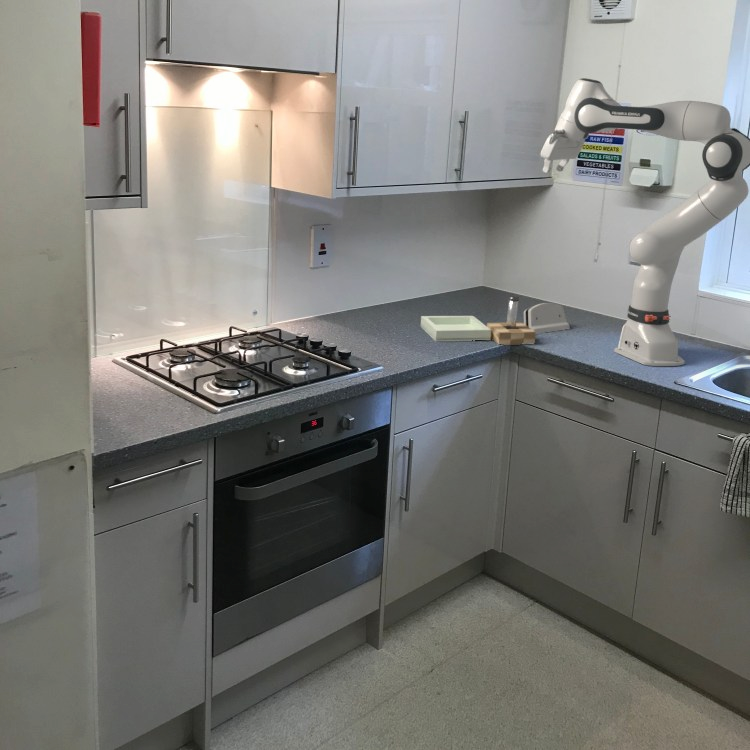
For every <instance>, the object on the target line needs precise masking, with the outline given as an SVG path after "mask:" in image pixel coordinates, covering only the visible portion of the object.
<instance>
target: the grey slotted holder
mask: <svg viewBox="0 0 750 750" xmlns="http://www.w3.org/2000/svg"><path fill="white" fill-rule="evenodd" d="M523 324H525V325H526V326H528V327H529V328H530V329H532V330H533V331H535V332H536V333H541V332H548V331H556V332H558V331H557V330H563V331H566V330H565V329H571V327H570V324H569V322H568V321H567V319H566V313H565V310H564V306H563V305H562V304H557V303H554V302H553V303H551V302H542V303H537V304H534V305H532V306H529V307H528V308H526V309H525V310H524V311H523Z"/></svg>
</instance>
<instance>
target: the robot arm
mask: <svg viewBox="0 0 750 750" xmlns="http://www.w3.org/2000/svg"><path fill="white" fill-rule="evenodd" d="M565 101H566V102H565V106H564V109H563V111H562V112H561V114H560V116H559V118H558V120H557V123H556V125H555V128H554V132H553V133H551V134H549V135H548V137H547V138H546V140H545V142H544V144H543V147H542V149H541V151H540V157H541V158H542V159H544V161H543V163H544V164H543V168H542V172H543V173H546V174H548V173H549V172H550V171H551V168H552V167H551V164H552V163H553V161H558V160H559V161H560V162H559V164H557V166H556V169H555V170H556V171H558V172H563V171H564V170H565V167H566V165H568V163H569V161H570V160H574V159H577V157H578V156H579V154H580V152H581V151H582V148H583V147H584V144H585V142H586V139H588V137H589V136H590V134H593V133H611V132H613V131H616V130H617V129H622V130H637V131H641V132H646V133H650V134H653V135H657V136H659V137H660V136H661V137H663V138H668V139H672V140H678V141H684V142H686V141H687V142H699V143H702V144H704V145H705V146H704V147H703V149H702V154H701V156H702V157H701V158H702V163H703V164H704V167H705V169H706V172H707V175H708V177H709V179H710V180H709V181H708V182H707V183H706V184H705V185H703V186H702V187H701V188H699V189H698V190H697V191H696V192H694V193H693V194H692V195H690V196H689V197H688V198H687V199H685V200H684V201H683V202H681V203H680V204H679V205H678V206H676V207H675V208H673V209H672V210H670V211H669V212H668V213H666V214H665V215H663V216H662V217H659V219H657V220H656V221H654V222H653V223H651V224H650V225H649V226H647V227H645V228H644V229H642V230H641V231H640V232H639V233H638V234H636V235H635V236H634V237H633V238H632V240H631V241H630V244H629V255H630V256H631V257H630V258H631V259H632V260H633V262H635V263H637V264H638V265H640V267H639V268H638V269H639V270H638V272H637V273H636V276H635V278H634V281H633V284H632V285H633V286H632V290H631V291H632V292H631V300H630V304H629V305H628V308H627V321H626V322H625V323H624V324H623V326H622V329H621V332H620V336H619V342H618V345H617V347H615V348H614V349H613V350H614V353H616V354H619V355H621V356H623V357H625V358H627V359H630V360H632V361H634V362H636V363H640V364H642V365H645V366H651V367H653V366H654V367H676V366H683V365H685V364H686V363H685V362H686V361H685V360H684V359H683V358H682V357H681V356H680V355H678V354H679V344H680V339H679V338H677V337H676V336H675V334H674V332H673V330H672V328H671V326H670V324H669V323H670V320H671V315H670V314H669V311H670V310H669V309H668V308H669V303H670V295H671V289H672V283H673V280H674V277H675V275H676V271H677V268H678V264H679V262H680V259H681V255H682V252H683V251H684V249H685V247H686V246H688V245H689V244H691V243H693V242H694V241H696V240H697V239H699V238H700V237H702V236H703V235H705V234H706V233H707V232H709V231H710V230H711V229H712V228H714V227H715V226H717V225H719V224H720V222H722V221H723V220H725V219H726V218H728V216H730V215H731V214H732V213H733V212H735V210H736V209H737V208H738V207H740V205H741V204H742V203H743V202H744V201H745V200H746V199H747V197H748V195H749V191H750V190H749V186H748V183H747V181H746V179H745V178H743V171H744V170H746V169H748V168H749V167H750V137H748V136H747V135H745V134H744V133H742V131H740V130H738V128H735V127H732V128H731V122H732V121H731V120H732V119H731V114H730V111H729V109H728V108H727V107H725V106H723V105H720V104H717V103H712V102H706V101H699V100H676V101H670V102H663V103H657V104H654V105H646V106H629V105H627V106H626V105H623V106H622V105H621V104H620V103H619V102H618V101H616V100H615V99H614V98H613V97H611V95H610V94H609V93H608V92H607V91H606V89H605V88H604V84H603V83H602V82H601V81H599V80H596V79H591V78H579V79H578V80H576V82H574V85H573V86H572V88H571V91H569V94H568V96H567V99H566V100H565Z"/></svg>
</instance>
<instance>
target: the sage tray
mask: <svg viewBox="0 0 750 750" xmlns="http://www.w3.org/2000/svg"><path fill="white" fill-rule="evenodd" d="M420 328H421V329H422V330H424V332H426V334H427V335H429V336H430V337H431V339H433V340H434V342H476V341H475V340H490V341H491V338H490V337H491V330H490V329H489V328H488V327H487V325H485V324H484V323H483V322H482V321H480V320H479V319H478V318H477V317H475V316H474V315H428V316H427V315H421V316H420ZM472 340H473V341H472Z"/></svg>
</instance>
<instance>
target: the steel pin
mask: <svg viewBox="0 0 750 750" xmlns="http://www.w3.org/2000/svg"><path fill="white" fill-rule="evenodd" d="M519 300H520V296H518V295H509V296H508V305H507V306H508V307H507V317H506V323H507V325H506V329H516V323H517V321H518V320H517V318H518V310H519V309H518V308H519Z"/></svg>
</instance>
